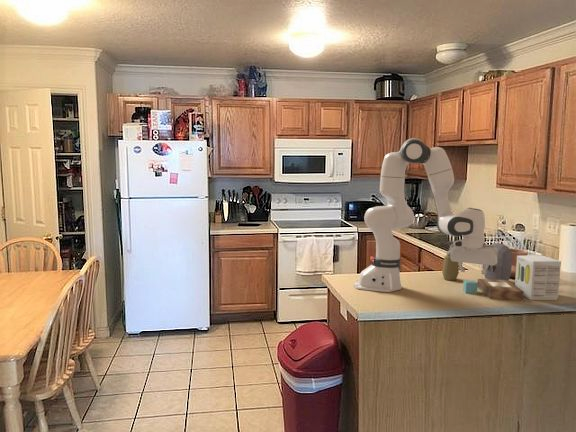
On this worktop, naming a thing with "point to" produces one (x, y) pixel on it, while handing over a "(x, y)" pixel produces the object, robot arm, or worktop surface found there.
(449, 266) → the squeeze bottle
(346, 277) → the worktop surface
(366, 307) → the worktop surface
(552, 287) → the supplement box
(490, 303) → the worktop surface
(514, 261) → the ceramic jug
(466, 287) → the teal cube
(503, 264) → the small grey backpack
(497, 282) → the walnut plinth
